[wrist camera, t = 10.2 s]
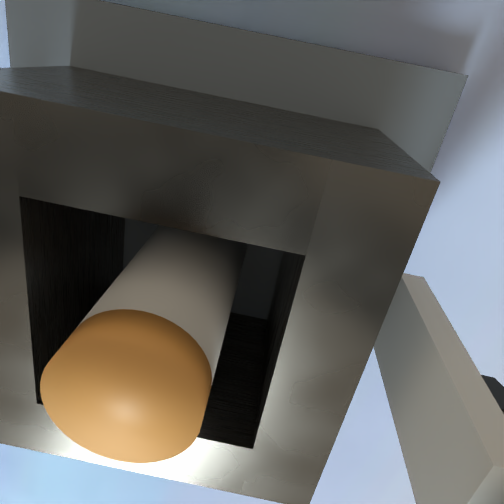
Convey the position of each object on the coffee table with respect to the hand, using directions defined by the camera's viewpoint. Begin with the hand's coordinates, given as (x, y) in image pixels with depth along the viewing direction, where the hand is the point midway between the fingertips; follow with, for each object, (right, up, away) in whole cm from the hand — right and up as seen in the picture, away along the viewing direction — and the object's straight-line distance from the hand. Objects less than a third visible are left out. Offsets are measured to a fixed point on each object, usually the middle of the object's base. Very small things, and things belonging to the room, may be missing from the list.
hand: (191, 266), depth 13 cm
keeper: (0, +1, +3) cm, 3 cm away
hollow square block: (0, +1, +2) cm, 2 cm away
